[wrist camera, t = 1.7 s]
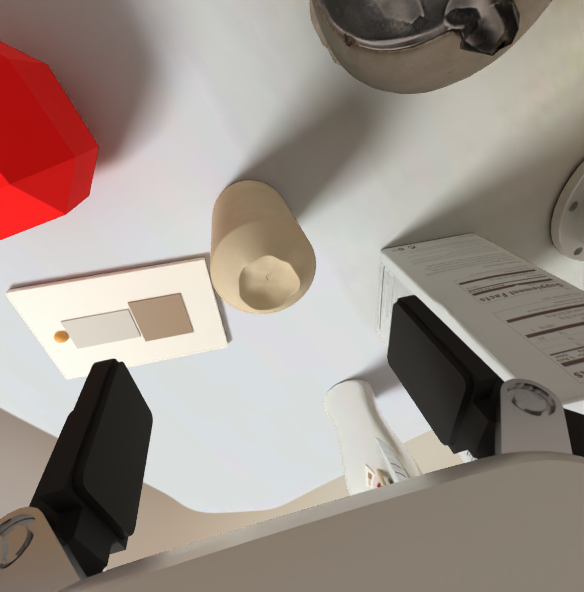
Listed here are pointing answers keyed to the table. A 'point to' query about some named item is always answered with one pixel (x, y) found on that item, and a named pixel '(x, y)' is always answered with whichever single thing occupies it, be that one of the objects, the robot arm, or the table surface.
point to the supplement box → (493, 309)
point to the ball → (39, 146)
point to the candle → (258, 250)
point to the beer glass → (366, 439)
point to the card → (124, 316)
